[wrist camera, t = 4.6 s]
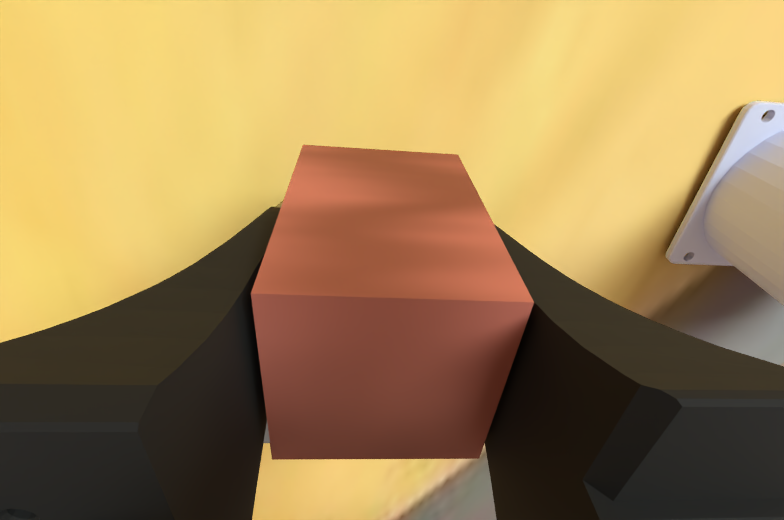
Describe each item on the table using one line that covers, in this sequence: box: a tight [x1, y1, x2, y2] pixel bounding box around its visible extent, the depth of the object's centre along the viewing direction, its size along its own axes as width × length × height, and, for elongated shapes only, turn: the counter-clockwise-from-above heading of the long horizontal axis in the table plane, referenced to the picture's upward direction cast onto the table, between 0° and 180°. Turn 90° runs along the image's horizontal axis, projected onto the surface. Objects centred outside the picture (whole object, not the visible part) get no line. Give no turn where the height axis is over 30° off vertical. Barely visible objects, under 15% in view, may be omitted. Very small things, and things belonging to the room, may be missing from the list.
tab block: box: [251, 145, 534, 459], centre depth 10 cm, size 4×4×6 cm
